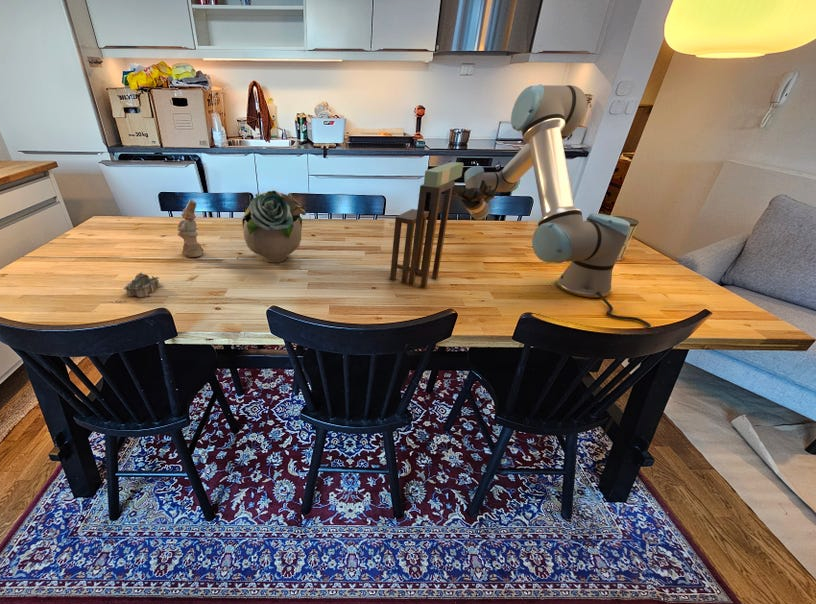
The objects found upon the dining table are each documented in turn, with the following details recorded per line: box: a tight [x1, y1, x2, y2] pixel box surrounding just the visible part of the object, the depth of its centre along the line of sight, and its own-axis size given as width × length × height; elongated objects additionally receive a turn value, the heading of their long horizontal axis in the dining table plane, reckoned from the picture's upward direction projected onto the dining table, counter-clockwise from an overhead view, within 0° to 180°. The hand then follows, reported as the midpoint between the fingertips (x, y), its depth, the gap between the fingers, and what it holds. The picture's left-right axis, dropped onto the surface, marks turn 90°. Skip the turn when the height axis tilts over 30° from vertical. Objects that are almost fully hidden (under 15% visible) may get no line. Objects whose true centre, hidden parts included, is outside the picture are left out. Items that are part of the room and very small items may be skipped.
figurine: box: [177, 199, 204, 258], centre depth 148 cm, size 9×8×20 cm
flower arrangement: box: [241, 189, 307, 263], centre depth 144 cm, size 25×25×24 cm
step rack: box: [389, 180, 456, 289], centre depth 128 cm, size 12×13×31 cm
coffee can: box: [612, 215, 640, 261], centre depth 152 cm, size 10×10×14 cm
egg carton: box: [122, 271, 161, 298], centre depth 126 cm, size 11×8×4 cm
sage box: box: [423, 161, 464, 187], centre depth 119 cm, size 20×4×4 cm, turn 145°
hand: (461, 181), depth 132 cm, fingers open, 13 cm apart
